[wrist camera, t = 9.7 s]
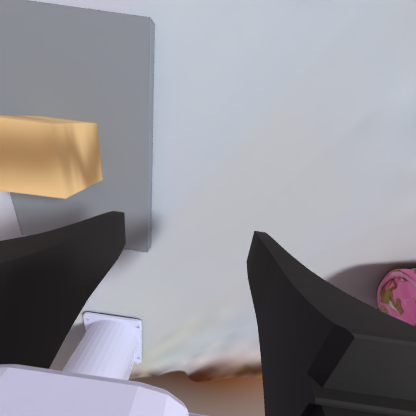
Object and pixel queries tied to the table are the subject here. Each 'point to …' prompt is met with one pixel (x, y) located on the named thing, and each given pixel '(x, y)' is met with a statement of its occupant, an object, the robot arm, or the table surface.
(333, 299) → the robot arm
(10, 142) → the ochre cube
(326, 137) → the table surface
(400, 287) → the pencil case
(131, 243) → the mat
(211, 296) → the table surface
